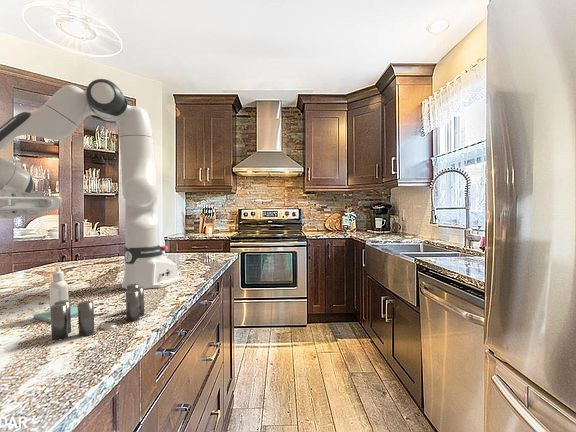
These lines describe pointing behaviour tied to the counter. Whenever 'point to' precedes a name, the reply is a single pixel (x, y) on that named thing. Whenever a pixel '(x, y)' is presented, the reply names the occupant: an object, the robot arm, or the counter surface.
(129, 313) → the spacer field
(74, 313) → the pad
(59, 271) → the eye dropper bottle
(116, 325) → the grey flat disc
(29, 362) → the counter surface
